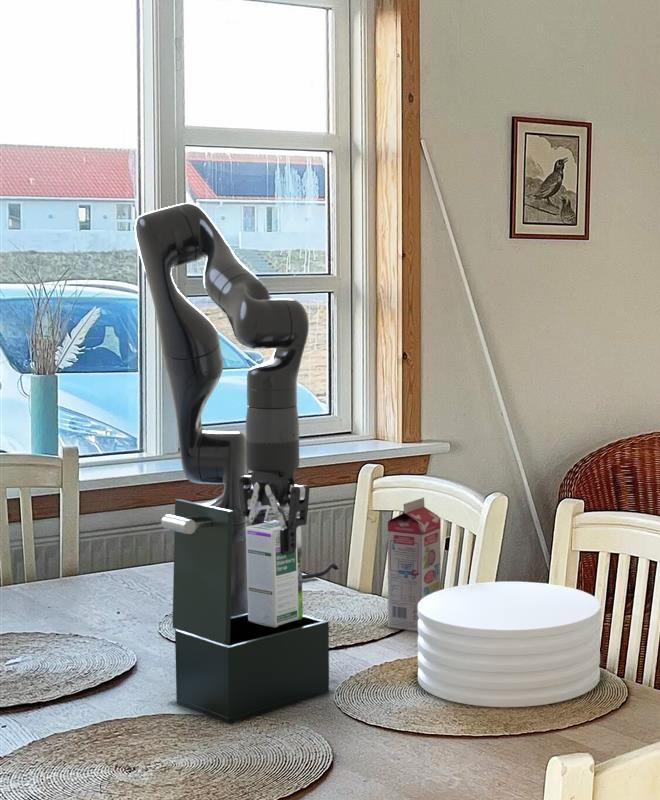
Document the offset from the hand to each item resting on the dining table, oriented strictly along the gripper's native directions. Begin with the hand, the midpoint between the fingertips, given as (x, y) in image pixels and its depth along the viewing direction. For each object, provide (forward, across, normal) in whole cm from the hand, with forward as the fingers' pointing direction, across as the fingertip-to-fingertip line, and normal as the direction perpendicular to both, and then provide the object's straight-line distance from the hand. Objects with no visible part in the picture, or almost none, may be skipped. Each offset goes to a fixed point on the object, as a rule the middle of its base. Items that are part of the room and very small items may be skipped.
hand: (273, 550), depth 198 cm
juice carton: (+22, +11, -38) cm, 45 cm away
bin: (+21, 0, +4) cm, 22 cm away
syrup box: (+11, 0, 0) cm, 11 cm away
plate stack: (+21, -21, -28) cm, 41 cm away
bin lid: (+1, 0, +12) cm, 12 cm away
